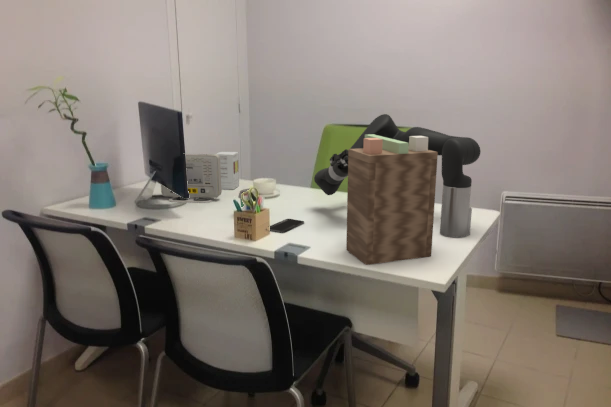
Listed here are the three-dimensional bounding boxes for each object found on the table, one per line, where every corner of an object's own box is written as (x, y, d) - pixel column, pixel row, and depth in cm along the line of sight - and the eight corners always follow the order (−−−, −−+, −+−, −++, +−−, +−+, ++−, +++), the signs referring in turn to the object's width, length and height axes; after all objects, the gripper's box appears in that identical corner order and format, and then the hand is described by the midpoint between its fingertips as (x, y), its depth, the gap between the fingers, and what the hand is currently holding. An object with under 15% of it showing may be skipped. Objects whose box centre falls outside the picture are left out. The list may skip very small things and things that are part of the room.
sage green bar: (372, 143, 171) (373, 134, 171) (408, 153, 151) (408, 142, 151) (364, 144, 170) (364, 134, 170) (398, 153, 150) (399, 143, 150)
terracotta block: (375, 151, 155) (376, 137, 154) (382, 153, 151) (382, 139, 150) (363, 152, 154) (363, 138, 153) (369, 154, 150) (370, 139, 149)
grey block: (420, 149, 160) (421, 135, 159) (427, 150, 156) (428, 137, 155) (408, 149, 159) (409, 136, 158) (415, 151, 155) (416, 137, 154)
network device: (223, 198, 234) (221, 153, 229) (217, 203, 226) (216, 156, 221) (166, 197, 236) (163, 152, 232) (159, 201, 228) (156, 155, 223)
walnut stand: (407, 242, 175) (412, 145, 167) (431, 256, 162) (437, 152, 154) (346, 250, 167) (348, 149, 160) (366, 265, 155) (369, 155, 147)
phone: (264, 228, 188) (287, 218, 200) (264, 231, 188) (287, 221, 201) (283, 231, 184) (305, 221, 196) (283, 234, 184) (305, 224, 197)
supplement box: (233, 190, 250) (232, 154, 246) (215, 189, 252) (213, 154, 248) (239, 185, 260) (238, 151, 256) (221, 185, 261) (220, 151, 257)
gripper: (321, 159, 193) (337, 141, 179) (357, 157, 198) (375, 140, 183) (325, 178, 192) (341, 162, 177) (361, 176, 196) (379, 160, 181)
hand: (358, 151), depth 180 cm, fingers open, 8 cm apart
